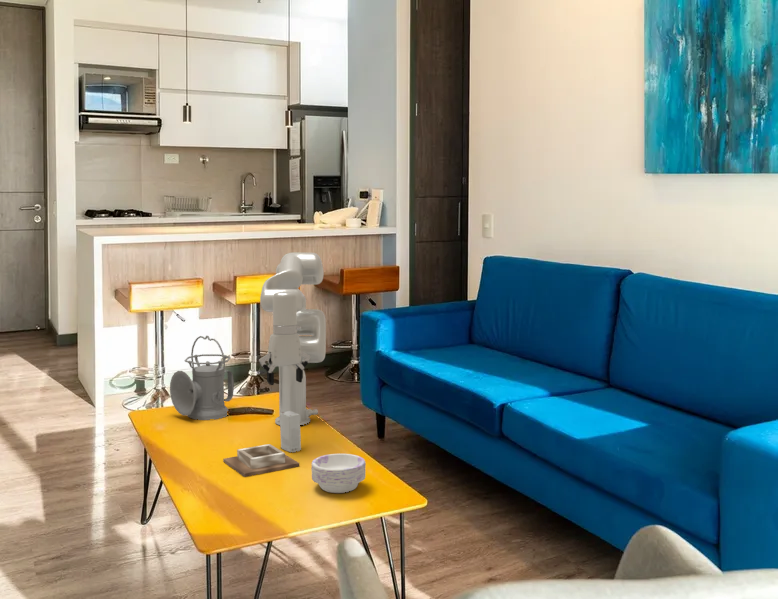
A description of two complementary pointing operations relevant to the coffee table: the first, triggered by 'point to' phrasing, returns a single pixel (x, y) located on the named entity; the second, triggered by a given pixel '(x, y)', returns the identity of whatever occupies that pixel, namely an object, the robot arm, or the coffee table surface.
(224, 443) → the coffee table surface
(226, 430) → the coffee table surface
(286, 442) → the skincare box
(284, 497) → the coffee table surface
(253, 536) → the coffee table surface
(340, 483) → the paper bowls
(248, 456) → the socket board
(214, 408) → the lantern
